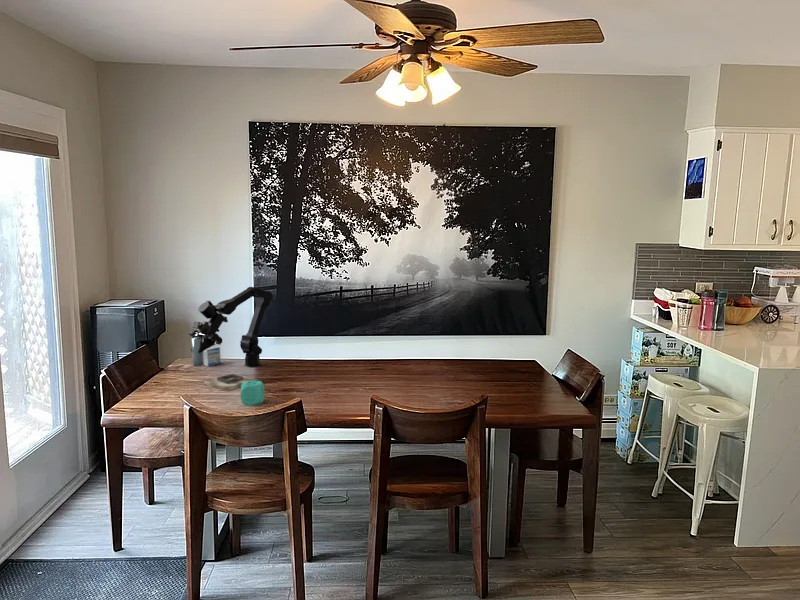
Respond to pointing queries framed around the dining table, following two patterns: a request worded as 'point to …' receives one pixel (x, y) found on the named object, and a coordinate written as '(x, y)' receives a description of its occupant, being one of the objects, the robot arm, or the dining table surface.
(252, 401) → the decorative dice
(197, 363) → the shiny steel cylinder
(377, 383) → the dining table surface
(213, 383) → the collar base
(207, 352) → the medicine box
